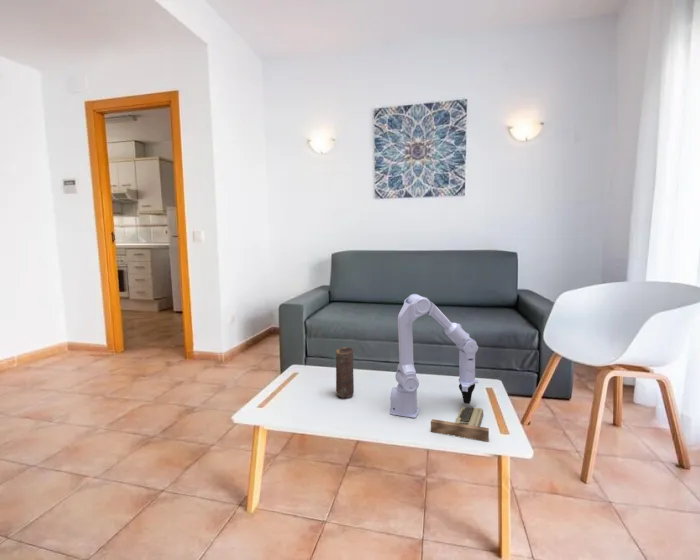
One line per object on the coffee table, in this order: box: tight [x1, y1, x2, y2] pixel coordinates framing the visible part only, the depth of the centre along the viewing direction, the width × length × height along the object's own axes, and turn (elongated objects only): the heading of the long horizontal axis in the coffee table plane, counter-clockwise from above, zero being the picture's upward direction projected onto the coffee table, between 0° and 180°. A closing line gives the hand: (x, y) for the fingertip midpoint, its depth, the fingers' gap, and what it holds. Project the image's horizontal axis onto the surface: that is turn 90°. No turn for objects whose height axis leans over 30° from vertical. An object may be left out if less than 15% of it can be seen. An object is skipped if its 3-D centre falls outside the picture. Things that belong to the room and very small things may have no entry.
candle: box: [335, 346, 355, 399], centre depth 155 cm, size 8×7×20 cm
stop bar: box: [430, 418, 490, 442], centre depth 122 cm, size 18×2×4 cm, turn 67°
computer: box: [454, 406, 484, 427], centre depth 130 cm, size 16×8×3 cm, turn 154°
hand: (467, 402), depth 143 cm, fingers closed
